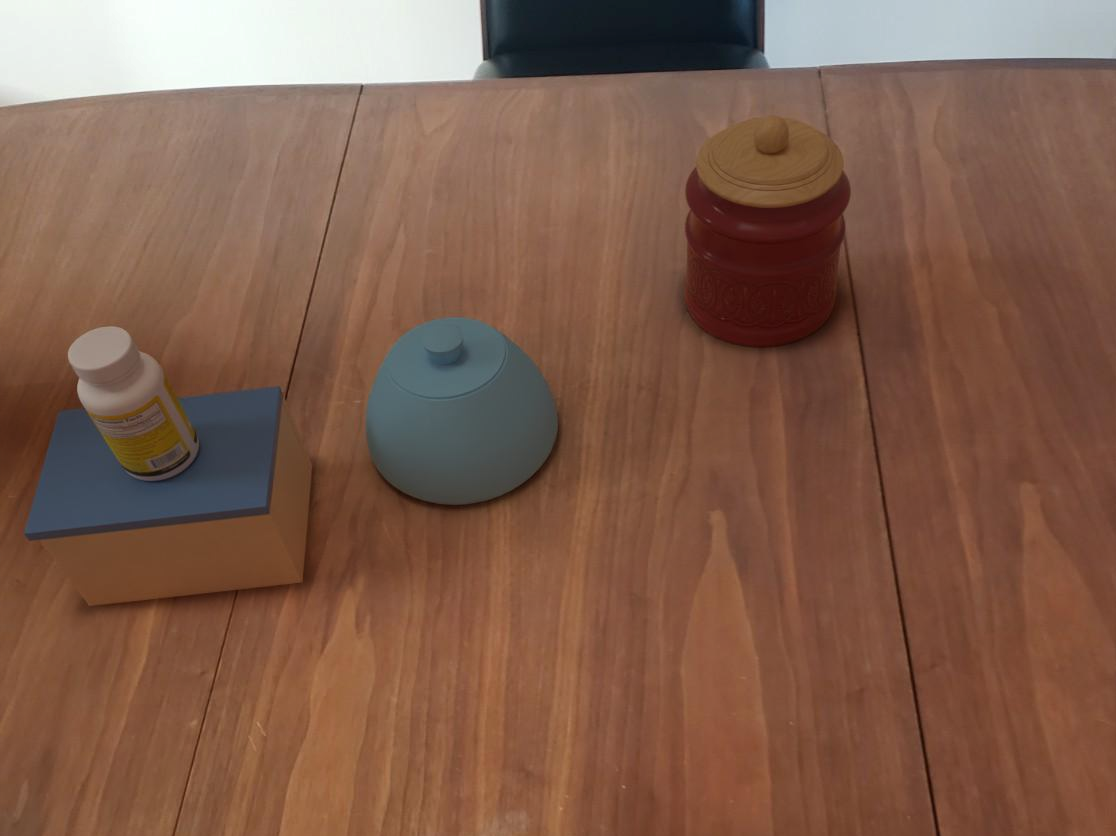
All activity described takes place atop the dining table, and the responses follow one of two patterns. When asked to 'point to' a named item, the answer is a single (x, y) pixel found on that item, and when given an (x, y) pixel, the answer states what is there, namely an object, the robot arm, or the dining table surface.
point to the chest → (200, 544)
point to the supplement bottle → (132, 404)
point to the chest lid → (190, 496)
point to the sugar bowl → (459, 413)
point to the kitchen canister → (765, 231)
